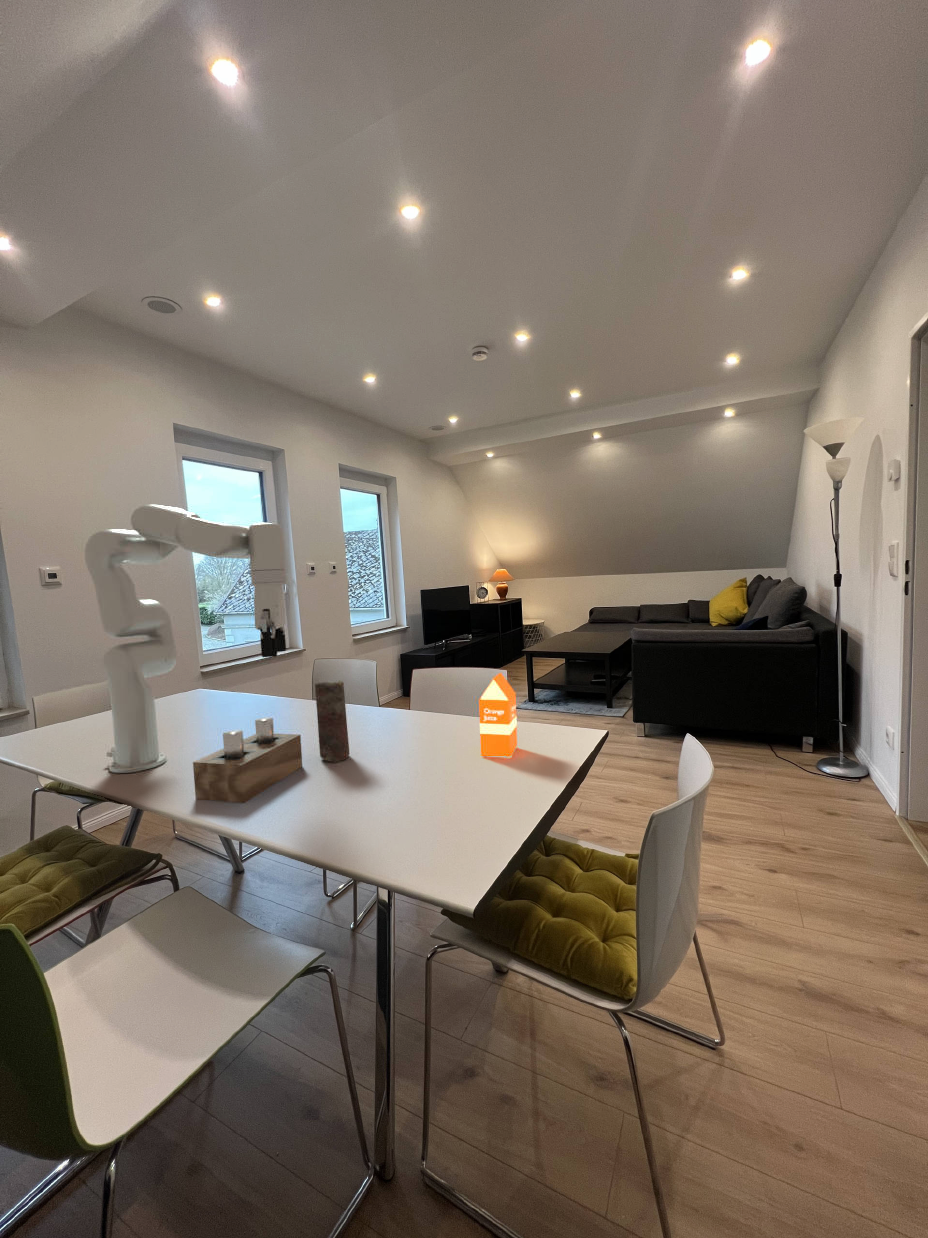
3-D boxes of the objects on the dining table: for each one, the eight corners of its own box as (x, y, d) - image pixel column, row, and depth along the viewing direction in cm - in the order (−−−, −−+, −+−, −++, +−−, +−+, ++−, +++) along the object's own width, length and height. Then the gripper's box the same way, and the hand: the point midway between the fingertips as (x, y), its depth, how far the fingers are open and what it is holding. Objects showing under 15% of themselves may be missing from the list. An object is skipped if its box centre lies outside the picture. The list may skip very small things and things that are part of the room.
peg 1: (220, 766, 116) (218, 735, 116) (233, 760, 120) (231, 729, 120) (236, 767, 115) (234, 735, 115) (248, 761, 119) (246, 730, 118)
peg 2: (253, 750, 127) (251, 721, 126) (263, 745, 131) (262, 717, 130) (268, 751, 126) (266, 722, 125) (278, 746, 130) (276, 717, 129)
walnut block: (195, 798, 114) (192, 762, 114) (260, 763, 135) (258, 732, 135) (243, 803, 111) (241, 765, 111) (302, 766, 132) (300, 734, 132)
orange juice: (480, 757, 134) (477, 678, 133) (489, 746, 143) (486, 671, 141) (511, 758, 132) (508, 678, 131) (518, 747, 140) (515, 672, 139)
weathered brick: (313, 760, 136) (308, 683, 135) (332, 752, 143) (328, 678, 141) (336, 764, 133) (331, 684, 131) (355, 755, 139) (351, 679, 138)
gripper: (261, 580, 129) (266, 650, 130) (241, 579, 112) (247, 660, 113) (293, 578, 130) (298, 648, 131) (278, 577, 113) (283, 657, 114)
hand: (274, 653), depth 122 cm, fingers open, 9 cm apart
